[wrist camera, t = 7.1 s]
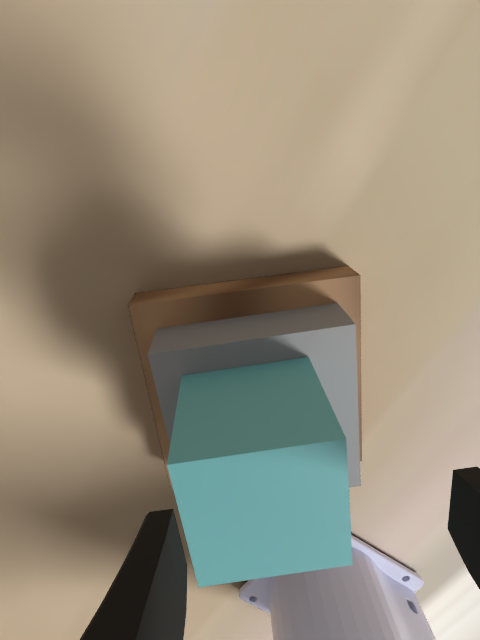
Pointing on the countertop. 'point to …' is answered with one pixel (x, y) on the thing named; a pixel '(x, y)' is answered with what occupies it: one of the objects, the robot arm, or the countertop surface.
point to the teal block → (260, 473)
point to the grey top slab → (266, 358)
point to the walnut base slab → (240, 313)
